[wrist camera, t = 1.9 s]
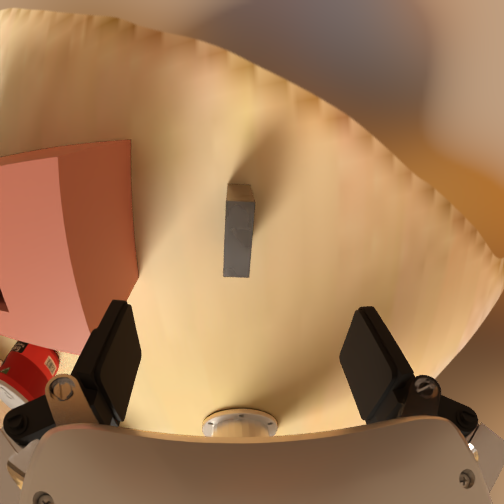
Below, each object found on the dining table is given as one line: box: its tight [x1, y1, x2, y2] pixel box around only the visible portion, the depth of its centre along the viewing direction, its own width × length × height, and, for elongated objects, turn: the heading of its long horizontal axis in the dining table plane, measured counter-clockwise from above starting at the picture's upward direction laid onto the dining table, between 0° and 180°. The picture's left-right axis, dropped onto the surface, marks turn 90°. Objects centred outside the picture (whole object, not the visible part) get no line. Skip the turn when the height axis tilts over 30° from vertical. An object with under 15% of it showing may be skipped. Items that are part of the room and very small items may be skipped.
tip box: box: [0, 140, 139, 355], centre depth 19 cm, size 14×20×12 cm
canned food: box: [0, 340, 59, 409], centre depth 28 cm, size 8×8×11 cm
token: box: [223, 184, 255, 278], centre depth 24 cm, size 6×2×6 cm, turn 176°
